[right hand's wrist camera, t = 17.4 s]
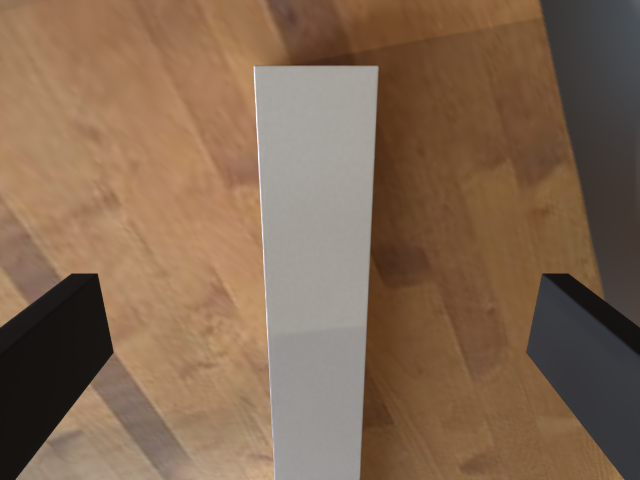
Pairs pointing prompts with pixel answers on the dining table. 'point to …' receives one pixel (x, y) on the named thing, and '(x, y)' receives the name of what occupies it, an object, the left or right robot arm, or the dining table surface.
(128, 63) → the dining table surface
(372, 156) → the thick board
